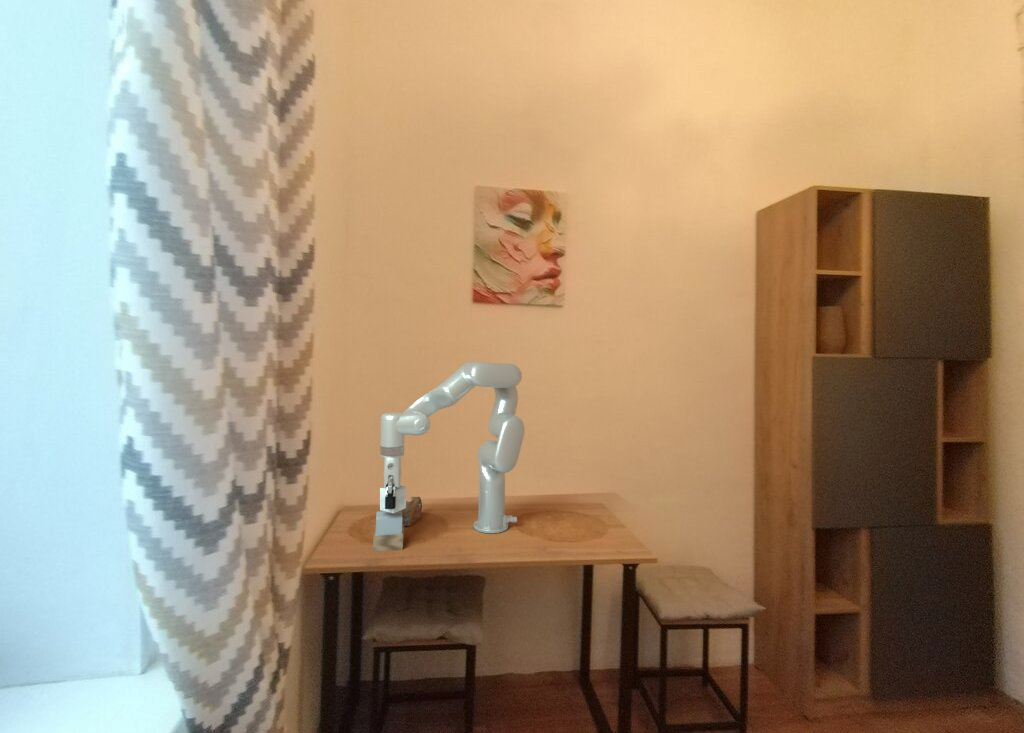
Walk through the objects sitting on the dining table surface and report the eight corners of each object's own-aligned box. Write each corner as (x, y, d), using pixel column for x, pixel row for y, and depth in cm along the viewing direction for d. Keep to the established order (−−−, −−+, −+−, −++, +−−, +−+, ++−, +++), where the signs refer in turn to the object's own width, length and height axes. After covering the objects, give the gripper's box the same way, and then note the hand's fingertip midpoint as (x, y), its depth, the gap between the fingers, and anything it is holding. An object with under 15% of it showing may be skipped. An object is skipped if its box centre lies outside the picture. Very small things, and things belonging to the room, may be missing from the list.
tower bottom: (403, 539, 150) (403, 524, 150) (402, 550, 141) (402, 534, 141) (375, 540, 148) (376, 525, 148) (373, 552, 140) (373, 536, 140)
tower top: (401, 524, 150) (401, 510, 150) (401, 533, 142) (402, 518, 142) (376, 526, 148) (376, 511, 148) (375, 535, 140) (376, 520, 140)
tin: (405, 529, 158) (406, 506, 158) (397, 528, 159) (397, 505, 158) (422, 515, 173) (422, 494, 173) (414, 514, 173) (415, 493, 173)
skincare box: (406, 508, 146) (406, 486, 146) (392, 513, 141) (393, 490, 141) (393, 505, 149) (393, 483, 149) (379, 510, 144) (379, 487, 144)
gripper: (402, 456, 137) (401, 512, 137) (405, 445, 154) (404, 495, 154) (377, 457, 135) (376, 513, 136) (382, 445, 152) (381, 496, 153)
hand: (391, 503), depth 145 cm, fingers closed on skincare box, 8 cm apart
